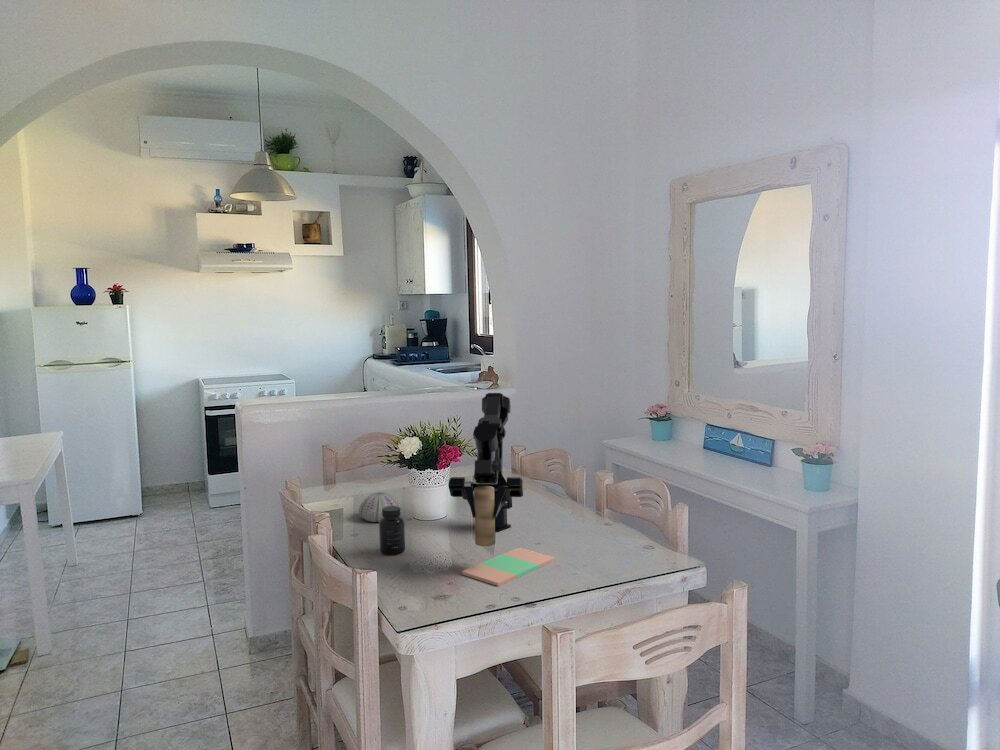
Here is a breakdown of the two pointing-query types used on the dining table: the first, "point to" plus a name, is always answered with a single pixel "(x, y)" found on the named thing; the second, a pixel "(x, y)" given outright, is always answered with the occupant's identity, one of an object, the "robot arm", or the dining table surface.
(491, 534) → the walnut peg
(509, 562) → the board
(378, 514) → the sea urchin shell
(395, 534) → the supplement bottle
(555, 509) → the dining table surface
